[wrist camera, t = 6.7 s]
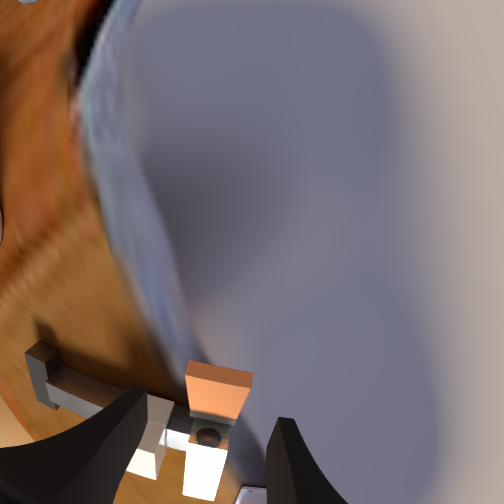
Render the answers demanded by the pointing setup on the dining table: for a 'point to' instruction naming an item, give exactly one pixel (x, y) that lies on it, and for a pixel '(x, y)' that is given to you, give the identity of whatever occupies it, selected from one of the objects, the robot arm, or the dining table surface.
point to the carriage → (152, 439)
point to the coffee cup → (0, 226)
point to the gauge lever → (216, 391)
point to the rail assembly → (102, 394)
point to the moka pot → (27, 1)
